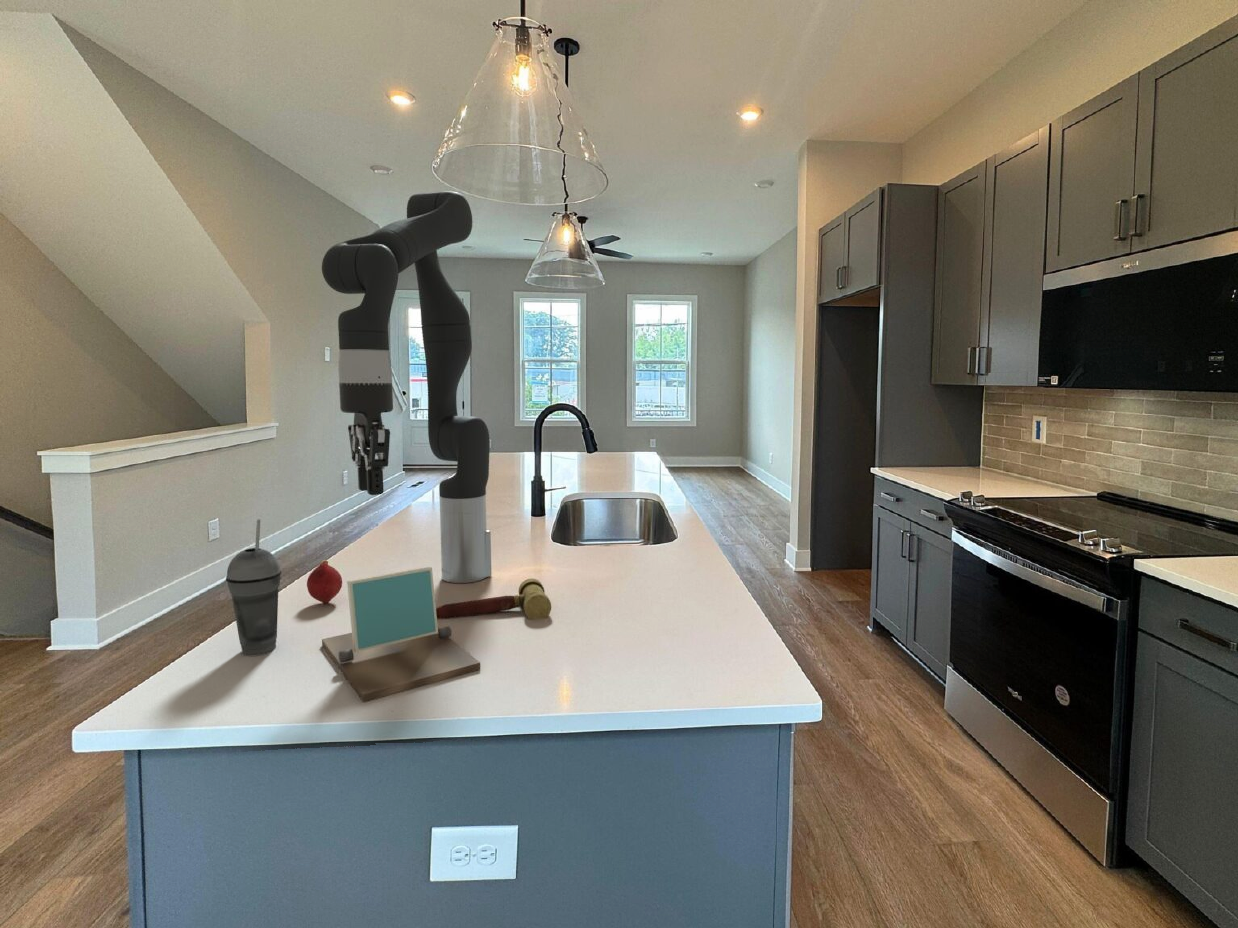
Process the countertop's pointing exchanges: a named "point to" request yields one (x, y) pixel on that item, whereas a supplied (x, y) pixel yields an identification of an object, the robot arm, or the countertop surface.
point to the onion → (324, 582)
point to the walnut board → (399, 663)
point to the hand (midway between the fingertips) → (370, 491)
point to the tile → (392, 608)
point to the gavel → (503, 603)
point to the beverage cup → (255, 597)
